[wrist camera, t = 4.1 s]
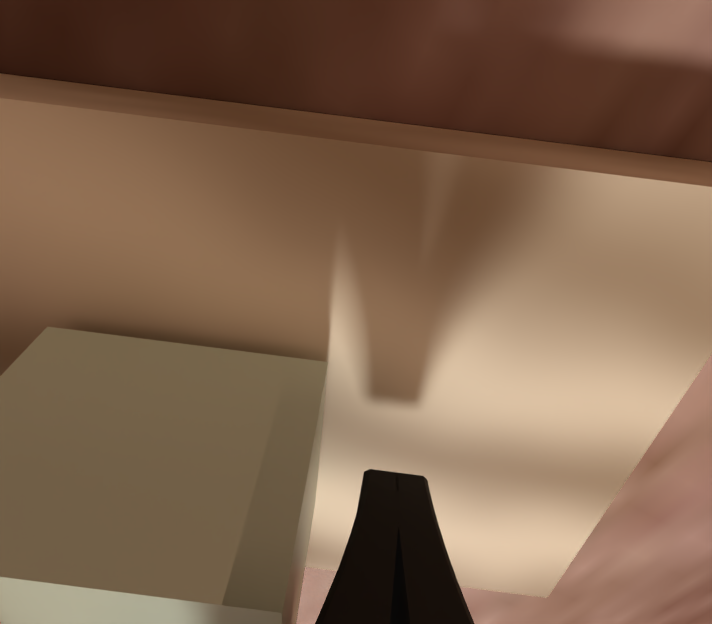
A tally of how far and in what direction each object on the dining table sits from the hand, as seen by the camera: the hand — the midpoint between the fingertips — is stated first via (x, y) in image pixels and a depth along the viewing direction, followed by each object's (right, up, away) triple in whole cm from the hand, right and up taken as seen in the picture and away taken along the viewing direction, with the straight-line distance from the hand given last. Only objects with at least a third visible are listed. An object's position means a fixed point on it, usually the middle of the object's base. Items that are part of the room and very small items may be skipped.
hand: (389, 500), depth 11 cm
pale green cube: (-5, +1, +1) cm, 5 cm away
